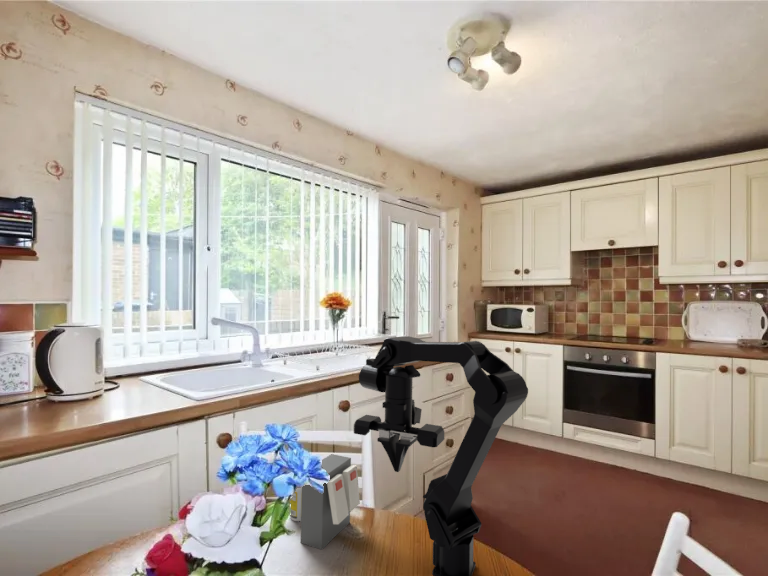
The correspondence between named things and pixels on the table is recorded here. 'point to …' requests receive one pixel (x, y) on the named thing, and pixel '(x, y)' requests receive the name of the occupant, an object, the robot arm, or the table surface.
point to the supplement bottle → (296, 505)
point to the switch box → (321, 507)
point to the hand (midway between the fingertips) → (397, 471)
